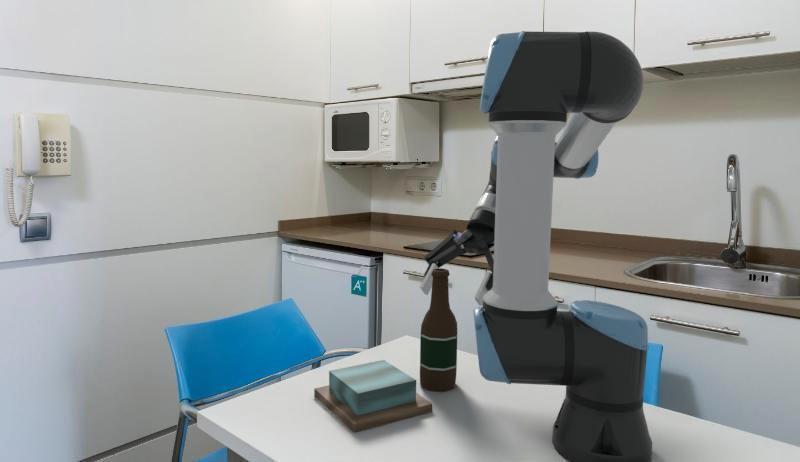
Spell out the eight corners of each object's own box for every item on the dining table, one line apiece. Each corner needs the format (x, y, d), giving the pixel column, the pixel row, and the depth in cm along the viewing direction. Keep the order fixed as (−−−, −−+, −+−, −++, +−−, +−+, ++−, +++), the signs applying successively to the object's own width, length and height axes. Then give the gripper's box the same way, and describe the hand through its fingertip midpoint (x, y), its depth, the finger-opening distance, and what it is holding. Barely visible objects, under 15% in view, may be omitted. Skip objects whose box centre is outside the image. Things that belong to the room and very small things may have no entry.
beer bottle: (463, 382, 118) (466, 268, 114) (446, 395, 111) (448, 275, 108) (430, 374, 122) (432, 264, 118) (411, 386, 115) (413, 270, 112)
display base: (432, 411, 104) (432, 382, 103) (354, 432, 96) (354, 401, 95) (385, 379, 119) (386, 354, 118) (314, 395, 110) (314, 368, 109)
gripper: (545, 234, 122) (509, 317, 113) (449, 224, 138) (410, 296, 128) (535, 211, 118) (497, 295, 108) (436, 204, 133) (395, 277, 123)
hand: (449, 296), depth 118 cm, fingers open, 13 cm apart
